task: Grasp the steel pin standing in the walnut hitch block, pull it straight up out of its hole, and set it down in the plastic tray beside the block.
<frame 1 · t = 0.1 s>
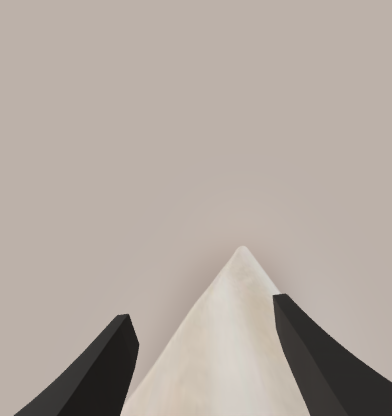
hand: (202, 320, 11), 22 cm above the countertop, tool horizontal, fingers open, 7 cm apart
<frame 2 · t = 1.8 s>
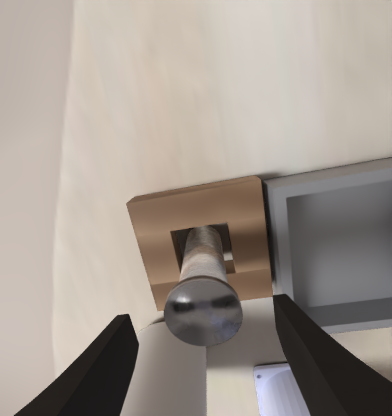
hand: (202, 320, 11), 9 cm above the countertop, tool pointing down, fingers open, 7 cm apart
tray: (334, 242, 19), on the countertop
hitch block: (203, 241, 19), on the countertop
can: (171, 341, 23), on the countertop
pin: (203, 268, 15), in the hitch block
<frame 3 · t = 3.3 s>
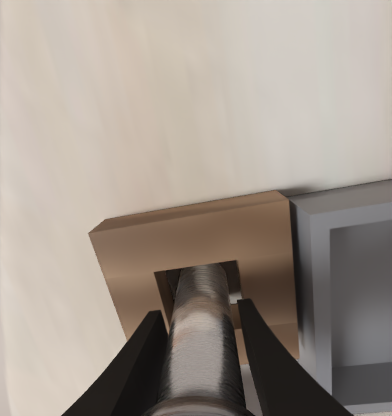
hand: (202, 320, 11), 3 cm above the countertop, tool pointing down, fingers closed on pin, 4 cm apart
tray: (383, 281, 14), on the countertop
hitch block: (202, 279, 14), on the countertop
pin: (201, 336, 10), in the hitch block, touching gripper
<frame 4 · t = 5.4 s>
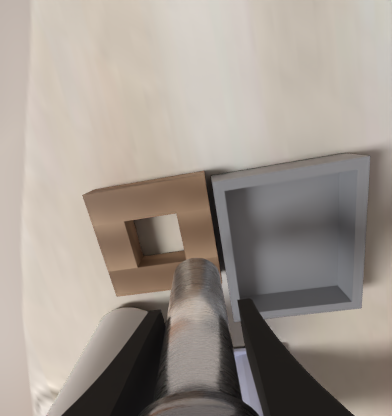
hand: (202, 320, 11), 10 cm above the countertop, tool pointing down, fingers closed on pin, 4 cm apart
tray: (280, 234, 20), on the countertop
hitch block: (160, 232, 21), on the countertop
can: (135, 327, 25), on the countertop
pin: (197, 334, 10), point 11 cm above the countertop, touching gripper
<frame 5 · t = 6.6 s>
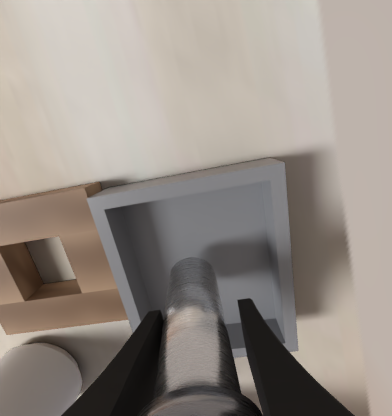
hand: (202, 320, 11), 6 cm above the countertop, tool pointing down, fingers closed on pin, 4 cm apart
tray: (203, 257, 17), on the countertop
hitch block: (59, 255, 17), on the countertop
can: (49, 364, 21), on the countertop
pin: (194, 332, 10), point 7 cm above the countertop, touching gripper
when the fingers open (5 cm above the countertop, at t = 7.5 s): pin drops 1 cm, resting on tray.
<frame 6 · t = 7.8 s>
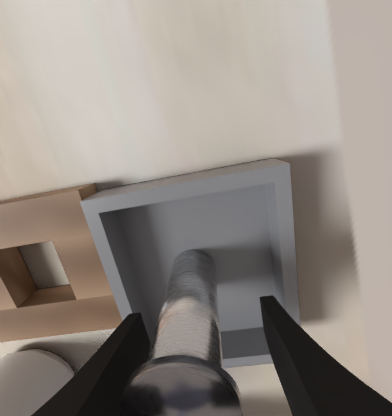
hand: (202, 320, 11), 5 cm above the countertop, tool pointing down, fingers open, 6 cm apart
tray: (203, 262, 16), on the countertop
hitch block: (53, 260, 16), on the countertop
can: (44, 371, 20), on the countertop
pin: (189, 316, 11), in the tray, point 5 cm above the countertop
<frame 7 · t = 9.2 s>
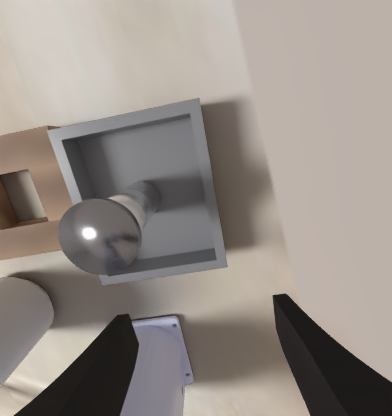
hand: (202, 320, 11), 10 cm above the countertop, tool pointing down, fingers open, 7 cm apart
tray: (152, 195, 20), on the countertop
hitch block: (31, 195, 20), on the countertop
can: (26, 301, 24), on the countertop
pin: (127, 213, 15), in the tray, point 5 cm above the countertop
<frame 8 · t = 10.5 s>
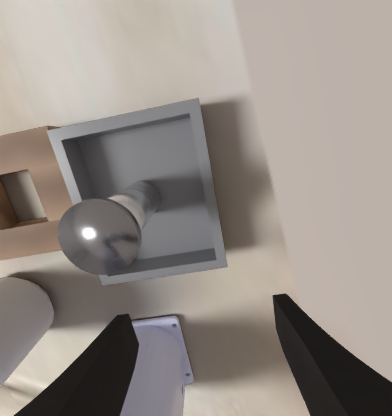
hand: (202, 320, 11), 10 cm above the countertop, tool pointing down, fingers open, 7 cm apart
tray: (152, 195, 20), on the countertop
hitch block: (31, 195, 20), on the countertop
can: (26, 301, 24), on the countertop
pin: (126, 212, 15), in the tray, point 5 cm above the countertop
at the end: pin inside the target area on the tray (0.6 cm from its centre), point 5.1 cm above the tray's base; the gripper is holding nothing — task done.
